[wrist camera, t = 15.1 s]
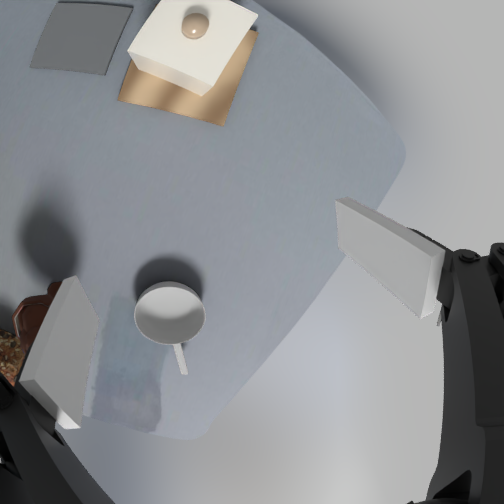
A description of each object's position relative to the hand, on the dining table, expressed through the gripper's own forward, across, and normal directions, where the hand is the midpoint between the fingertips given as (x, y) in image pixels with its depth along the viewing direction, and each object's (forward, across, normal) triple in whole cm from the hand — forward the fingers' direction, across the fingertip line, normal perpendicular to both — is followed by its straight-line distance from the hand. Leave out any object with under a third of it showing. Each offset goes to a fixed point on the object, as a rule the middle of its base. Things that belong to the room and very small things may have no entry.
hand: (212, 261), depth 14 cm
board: (+27, +4, +14) cm, 30 cm away
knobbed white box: (+26, +4, +15) cm, 30 cm away
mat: (+27, -10, +23) cm, 37 cm away
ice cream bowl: (+27, -24, -12) cm, 38 cm away
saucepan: (+27, -8, -23) cm, 36 cm away
